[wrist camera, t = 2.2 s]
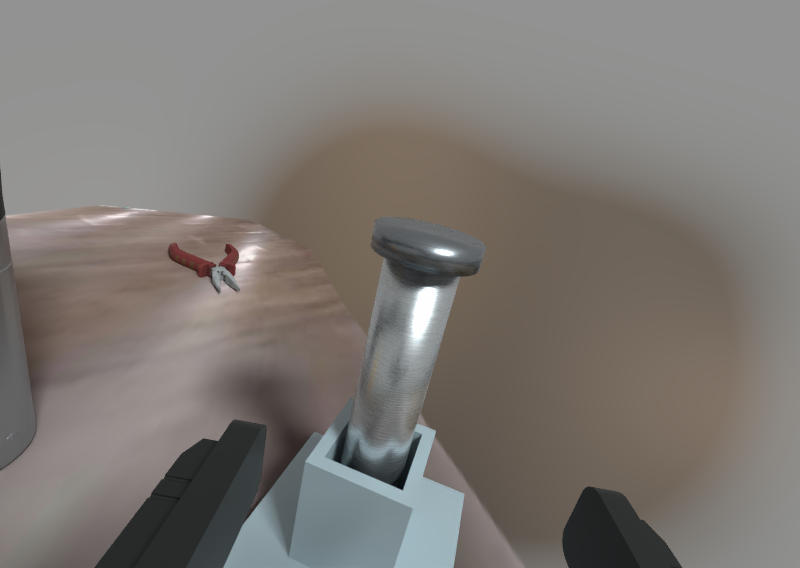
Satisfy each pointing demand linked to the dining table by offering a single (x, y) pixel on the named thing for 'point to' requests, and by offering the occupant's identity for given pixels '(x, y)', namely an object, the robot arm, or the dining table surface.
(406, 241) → the column
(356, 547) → the stand base
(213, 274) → the pliers
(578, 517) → the robot arm
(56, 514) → the dining table surface
